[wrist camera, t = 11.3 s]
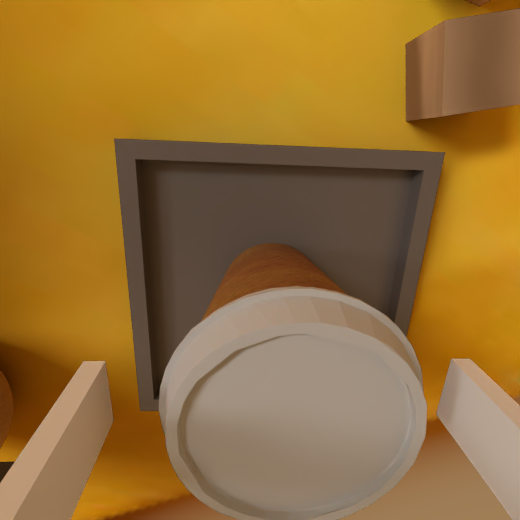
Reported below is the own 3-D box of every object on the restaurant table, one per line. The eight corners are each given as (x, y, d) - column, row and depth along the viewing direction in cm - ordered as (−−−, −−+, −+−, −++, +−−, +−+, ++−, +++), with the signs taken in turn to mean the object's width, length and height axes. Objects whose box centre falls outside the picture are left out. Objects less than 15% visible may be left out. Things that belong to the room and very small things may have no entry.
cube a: (405, 121, 20) (442, 116, 16) (405, 44, 19) (445, 20, 15) (471, 110, 20) (524, 103, 16) (476, 33, 19) (534, 5, 15)
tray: (147, 391, 26) (140, 411, 24) (126, 139, 20) (114, 138, 18) (380, 391, 27) (390, 410, 25) (426, 151, 21) (444, 152, 19)
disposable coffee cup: (370, 290, 23) (495, 438, 11) (265, 372, 25) (283, 570, 13) (277, 184, 20) (319, 238, 9) (167, 285, 22) (85, 437, 11)
